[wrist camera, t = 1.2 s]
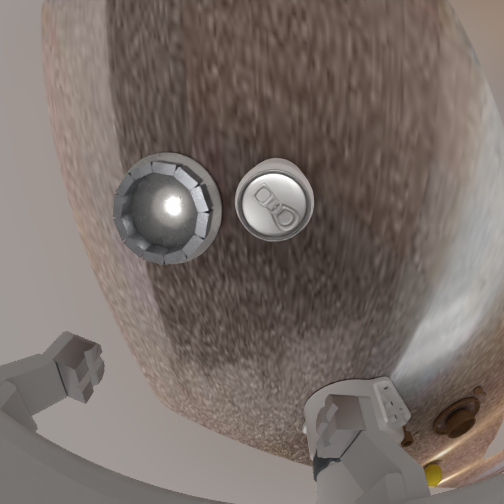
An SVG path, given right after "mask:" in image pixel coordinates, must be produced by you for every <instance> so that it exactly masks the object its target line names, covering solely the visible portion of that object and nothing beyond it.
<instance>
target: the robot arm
mask: <svg viewBox="0 0 504 504" xmlns="http://www.w3.org/2000/svg"><path fill="white" fill-rule="evenodd" d="M101 353H102V350H101V346H100V345H99V344H97V343H95V342H92V341H89V340H87V339H85V338H82V337H80V336H78V335H75V334H72V333H70V332H68V331H66V332H63V333H62V334H61V335H60V336H59V337H58V338H57V339H56V340H55V341H54V342H53V344H52V345H51V346H50V347H49V348H48V349H47V350H46V351H45V352H44V353H43V354H42V355H41V354H36V355H33V356H30V357H27V358H24V359H21V360H18V361H14V362H11V363H8V364H5V365H2V366H0V504H232V503H226V502H221V501H215V500H209V499H205V498H200V497H195V496H191V495H187V494H183V493H179V492H175V491H171V490H168V489H164V488H160V487H157V486H154V485H151V484H148V483H145V482H142V481H139V480H136V479H133V478H130V477H127V476H125V475H122V474H120V473H117V472H114V471H112V470H109V469H107V468H104V467H102V466H100V465H97V464H95V463H93V462H91V461H88V460H86V459H84V458H82V457H80V456H78V455H76V454H74V453H72V452H70V451H68V450H66V449H64V448H62V447H60V446H59V445H57V444H55V443H53V442H51V441H50V440H48V439H46V438H44V437H43V436H41V435H39V434H37V433H36V430H37V425H36V423H35V421H34V420H33V418H32V415H34V414H36V413H38V412H40V411H42V410H44V409H46V408H48V407H50V406H52V405H53V404H55V403H57V402H59V401H61V400H63V399H64V398H66V397H67V396H69V397H71V398H73V399H76V400H78V401H81V402H83V403H87V401H88V400H89V398H90V396H91V395H92V393H93V386H94V385H97V384H99V383H100V381H101V379H102V377H103V374H104V361H103V360H102V358H101V357H100V354H101ZM304 416H305V422H304V424H303V426H302V429H303V433H305V434H307V439H308V446H309V452H310V458H311V459H312V460H313V467H312V470H313V474H314V480H315V481H316V482H317V504H504V474H497V475H494V476H491V477H489V478H486V479H484V480H481V481H478V482H475V483H473V484H470V485H467V486H464V487H460V488H457V489H454V490H450V491H447V492H443V493H439V494H436V495H432V496H431V495H430V491H429V487H428V483H427V479H426V476H425V472H424V469H423V467H422V466H421V465H420V464H418V463H417V462H416V461H415V460H414V459H413V458H412V457H411V456H410V455H409V454H408V453H406V452H405V451H404V450H403V449H402V448H401V447H400V446H399V444H400V443H401V442H402V440H403V439H404V431H403V428H402V426H404V425H406V424H407V421H408V420H409V419H410V417H411V414H410V411H409V409H408V408H407V406H406V404H405V403H404V401H403V399H402V398H401V396H400V394H399V393H398V391H397V389H396V388H395V386H394V385H393V383H392V381H391V380H390V378H389V377H379V378H375V379H371V380H360V379H353V380H345V381H340V382H336V383H333V384H330V385H328V386H326V387H324V388H322V389H320V390H319V391H317V392H316V393H314V394H313V395H312V396H311V397H310V398H309V399H308V401H307V402H306V404H305V407H304Z"/></svg>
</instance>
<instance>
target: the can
mask: <svg viewBox="0 0 504 504" xmlns="http://www.w3.org/2000/svg"><path fill="white" fill-rule="evenodd" d="M235 207H236V212H237V215H238V217H239V219H240V221H241V223H242V224H243V226H244V227H245V228H246V229H247V230H248V231H249V232H250V233H251V234H252V235H254V236H255V237H257V238H259V239H262V240H265V241H271V242H278V241H284V240H287V239H290V238H292V237H294V236H295V235H297V234H298V233H299V232H300V231H301V230H302V229H303V228H304V227H305V226H306V225H307V223H308V222H309V220H310V218H311V216H312V213H313V208H314V195H313V191H312V188H311V186H310V184H309V182H308V180H307V179H306V177H305V176H304V174H303V173H302V172H301V170H300V169H299V168H298V167H297V166H296V165H295V164H293V163H292V162H290V161H288V160H286V159H282V158H271V159H267V160H265V161H263V162H261V163H259V164H258V165H256V166H255V167H254V168H253V169H251V170H250V171H249V172H248V173H247V174H246V175H245V176H244V177H243V179H242V180H241V182H240V183H239V185H238V188H237V191H236V196H235Z"/></svg>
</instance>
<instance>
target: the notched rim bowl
mask: <svg viewBox="0 0 504 504" xmlns="http://www.w3.org/2000/svg"><path fill="white" fill-rule="evenodd" d="M116 192H117V194H115V197H114V210H113V217H117V218H116V219H114V222H115V225H116V227H117V230H118V232H119V235H120V237H121V240H125V239H126V240H125V242H124V244H125V245H126V246H127V247H128V248H130V249H131V250H132V251H133V252H134V253H135V254H136V255H137V256H138V257H139V258H141V257H142V256H143V260H147V261H150V262H154V263H158V264H162V265H164V264H166V265H167V264H177V263H183V262H187V261H190V260H192V259H194V258H196V257H198V256H199V255H201V254H202V253H203V252H204V251H205V250H206V249H207V248H208V247H209V246H210V245H211V243H212V242H213V241H214V239H215V237H216V236H217V234H218V231H219V229H220V226H221V222H222V215H223V205H222V198H221V194H220V191H219V188H218V186H217V184H216V182H215V180H214V178H213V177H212V175H211V174H210V173H209V172H208V170H207V169H206V168H205V167H204V166H203V165H201V164H200V163H199V162H197V161H196V160H194V159H192V158H191V157H188V156H186V155H183V154H179V153H172V152H165V153H157V154H152V155H150V156H147V157H145V158H143V159H141V160H139V161H138V162H137V163H135V164H134V165H133V166H132V167H131V168H130V169H129V171H128V172H127V173H126V175H125V176H124V178H123V180H122V182H121V184H120V185H119V187H118V189H117V190H116Z"/></svg>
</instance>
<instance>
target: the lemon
mask: <svg viewBox="0 0 504 504" xmlns="http://www.w3.org/2000/svg"><path fill="white" fill-rule="evenodd" d="M424 472H425V476H426V479H427V483H428V486H431V487H432V486H434V487H435V486H437V484H438V483H439V482H440V481H441V479H442V470H441V468H440V467H439V466H438V465H435V464H433V465H432V464H429V465H428V466H427V468H425V470H424Z"/></svg>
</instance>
